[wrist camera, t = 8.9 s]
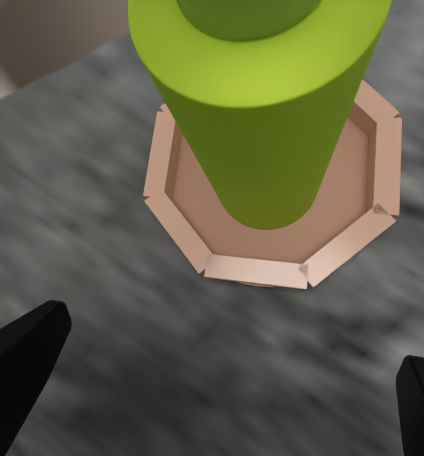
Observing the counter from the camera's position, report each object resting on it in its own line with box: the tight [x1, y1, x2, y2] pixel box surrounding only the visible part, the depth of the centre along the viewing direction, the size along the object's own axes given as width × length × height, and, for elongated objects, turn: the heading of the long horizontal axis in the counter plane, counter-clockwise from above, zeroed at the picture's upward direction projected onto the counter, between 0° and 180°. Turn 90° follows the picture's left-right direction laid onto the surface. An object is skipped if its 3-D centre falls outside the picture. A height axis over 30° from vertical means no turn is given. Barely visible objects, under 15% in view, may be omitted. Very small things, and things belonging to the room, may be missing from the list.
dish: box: [143, 79, 402, 290], centre depth 20 cm, size 14×14×2 cm
